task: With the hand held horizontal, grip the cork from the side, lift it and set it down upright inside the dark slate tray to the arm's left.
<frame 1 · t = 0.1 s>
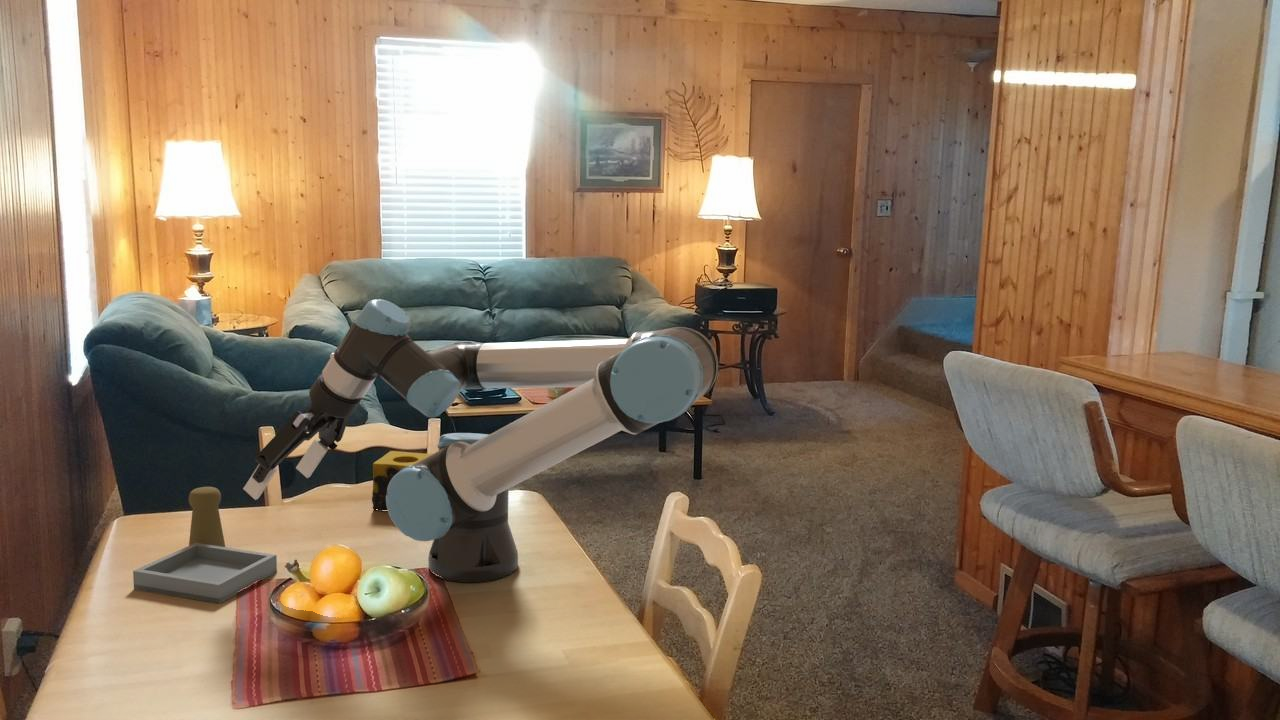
hand: (277, 482, 166), 15 cm above the table, tool tilted 35°, fingers open, 13 cm apart
tray: (207, 580, 164), on the table
cork: (207, 549, 178), on the table
candle: (404, 506, 206), on the table
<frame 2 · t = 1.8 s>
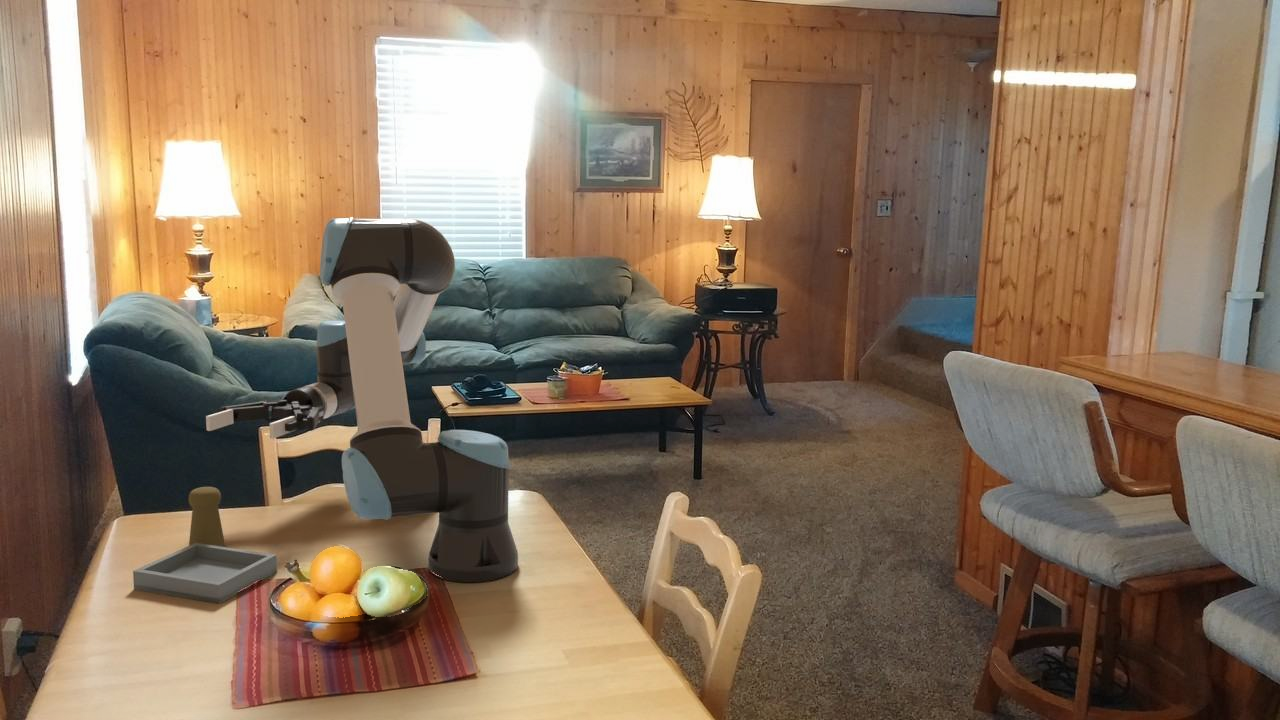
hand: (239, 427, 184), 20 cm above the table, tool horizontal, fingers open, 13 cm apart
nothing on the table moved.
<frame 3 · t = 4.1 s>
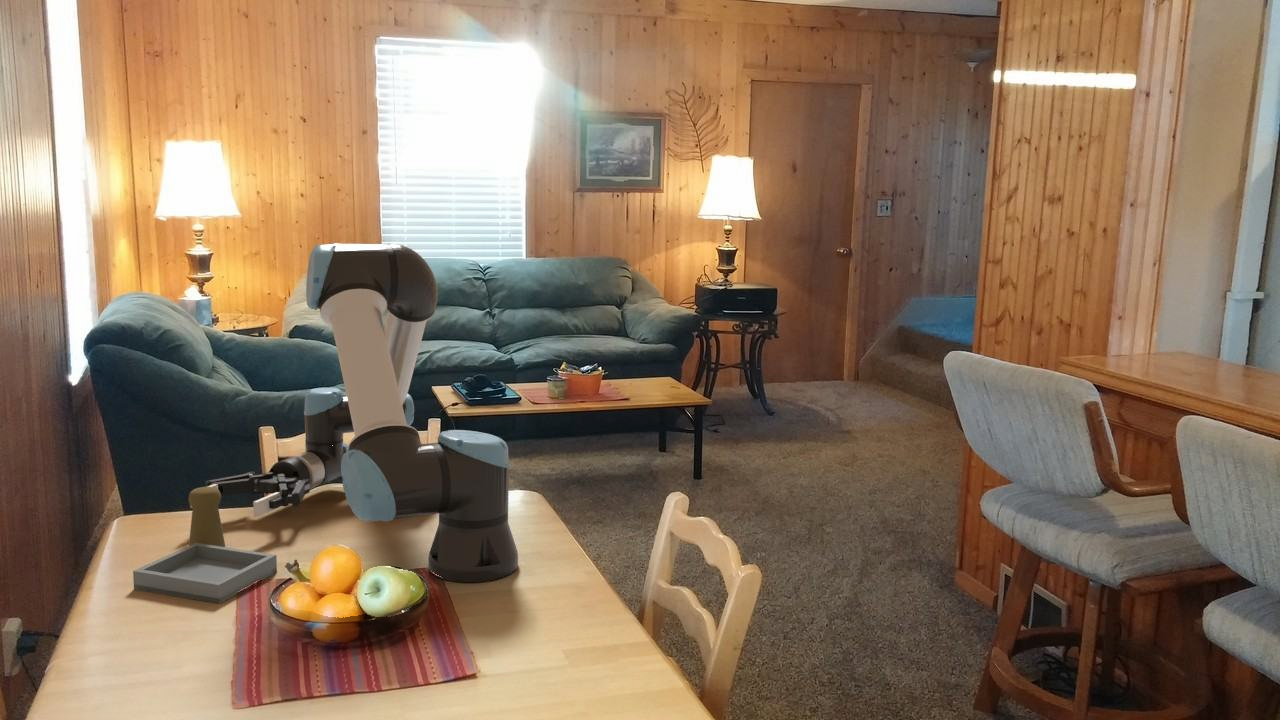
hand: (223, 505, 182), 6 cm above the table, tool horizontal, fingers open, 13 cm apart
nothing on the table moved.
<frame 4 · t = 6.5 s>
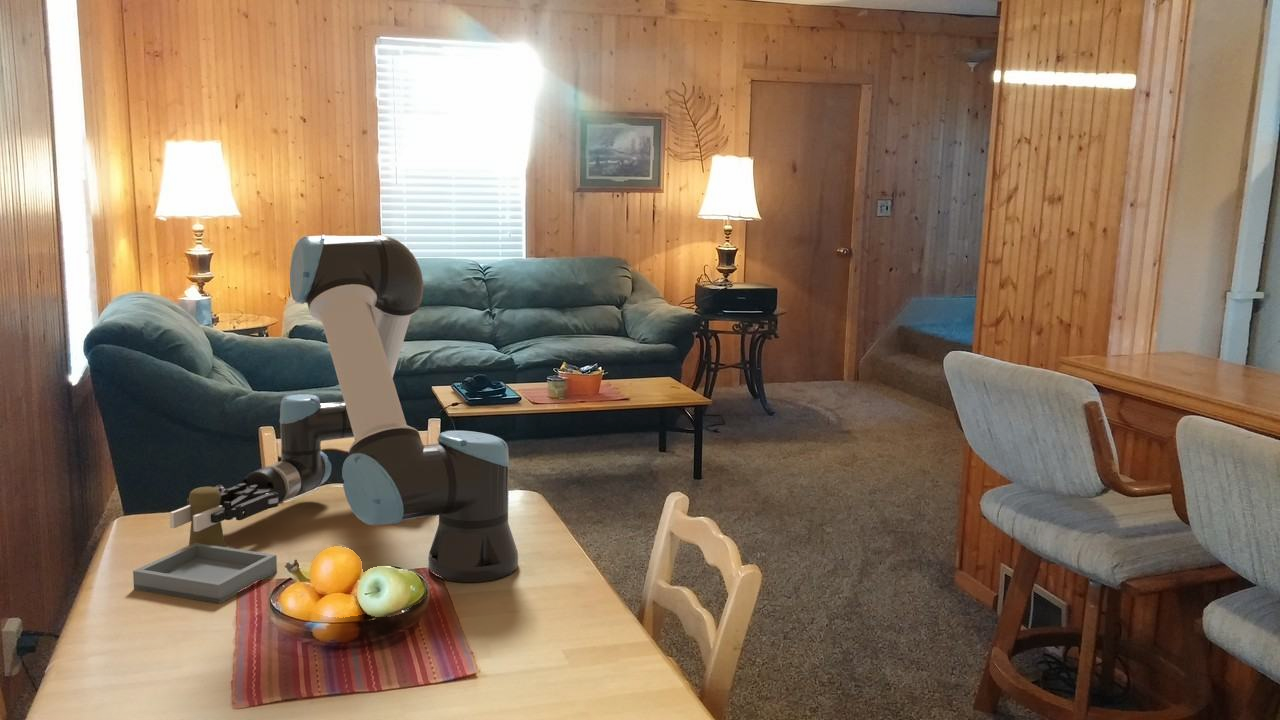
hand: (183, 522, 172), 7 cm above the table, tool horizontal, fingers closed on cork, 4 cm apart
cork: (207, 549, 178), on the table, touching gripper
everything else where it was.
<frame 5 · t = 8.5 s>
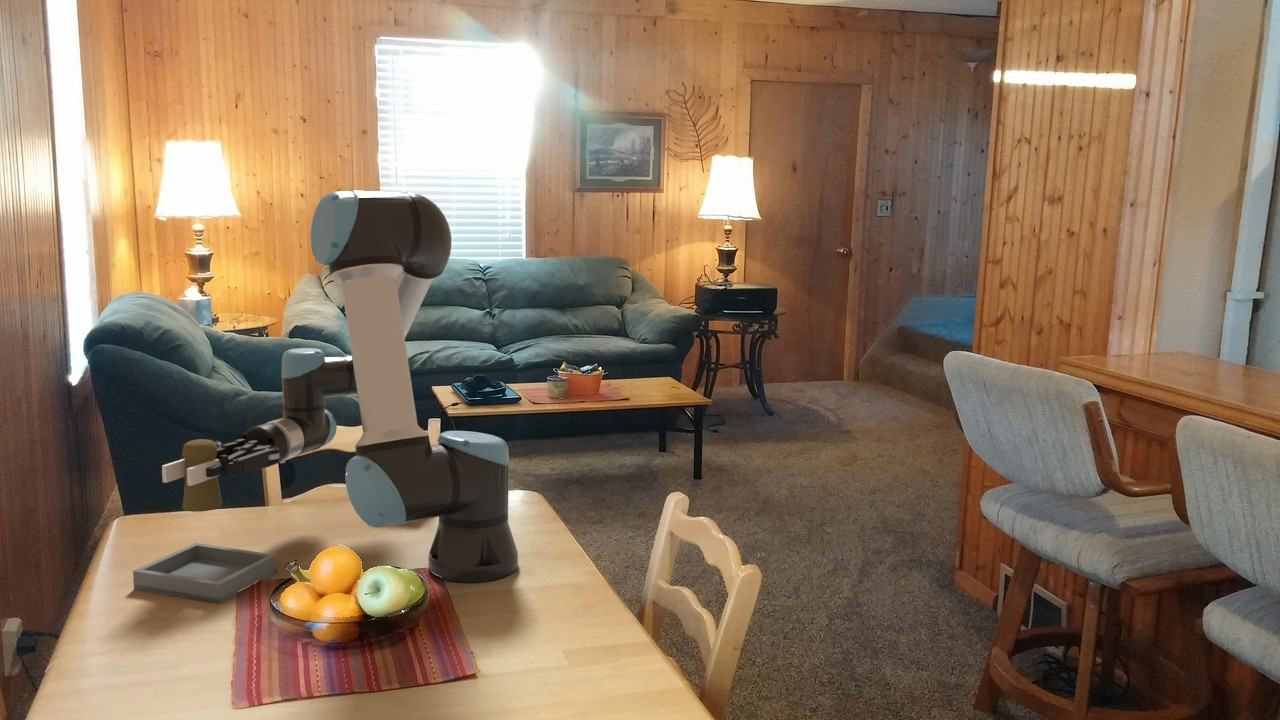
hand: (176, 475, 159), 18 cm above the table, tool horizontal, fingers closed on cork, 4 cm apart
cork: (202, 507, 165), point 11 cm above the table, touching gripper
everything else where it was.
when the fingers open (8 cm above the table, at t = 10.9 s): cork moves 1 cm, resting on tray.
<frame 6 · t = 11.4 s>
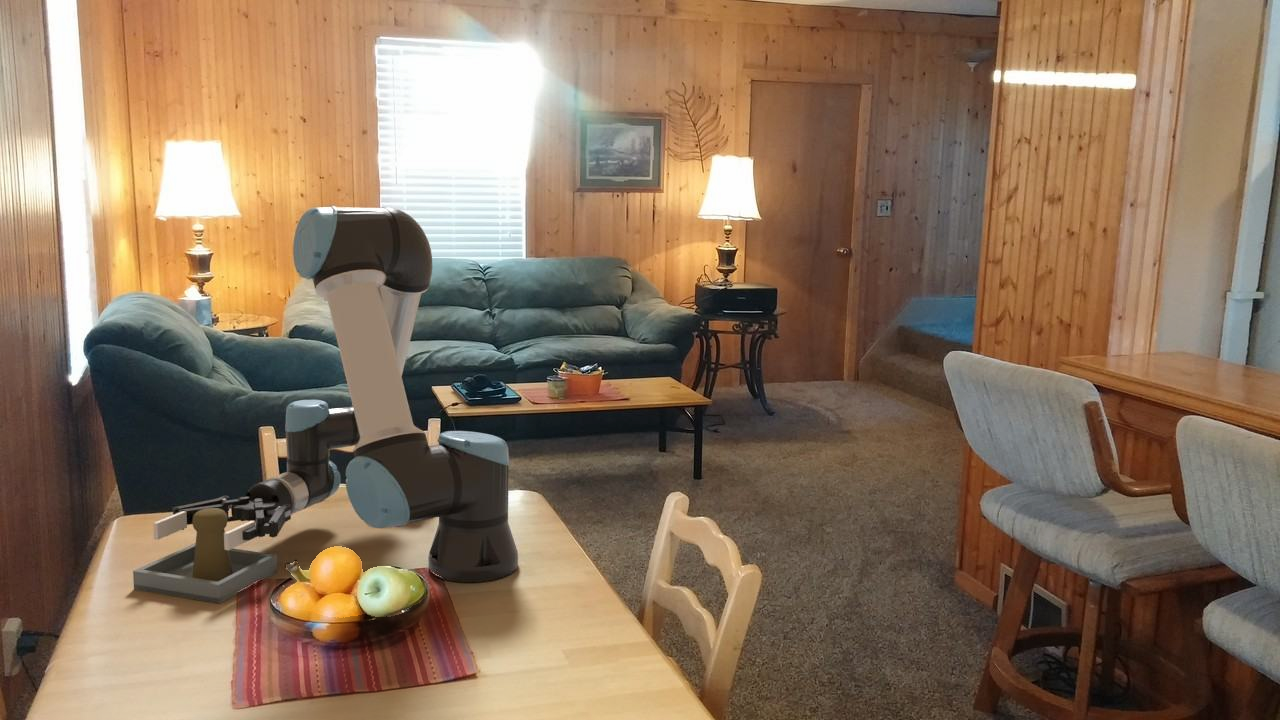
hand: (190, 536, 159), 8 cm above the table, tool horizontal, fingers open, 13 cm apart
cork: (212, 576, 163), point 1 cm above the table, touching tray
everything else where it was.
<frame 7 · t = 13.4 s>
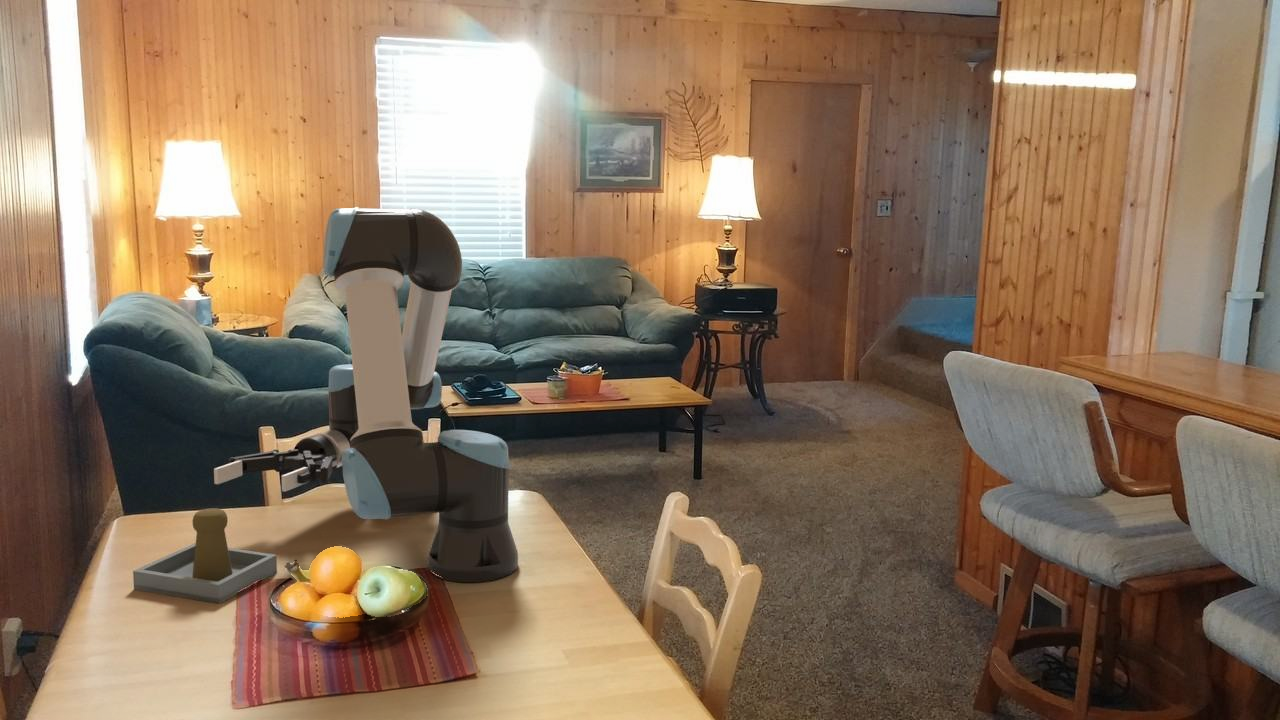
hand: (249, 480, 174), 13 cm above the table, tool horizontal, fingers open, 13 cm apart
nothing on the table moved.
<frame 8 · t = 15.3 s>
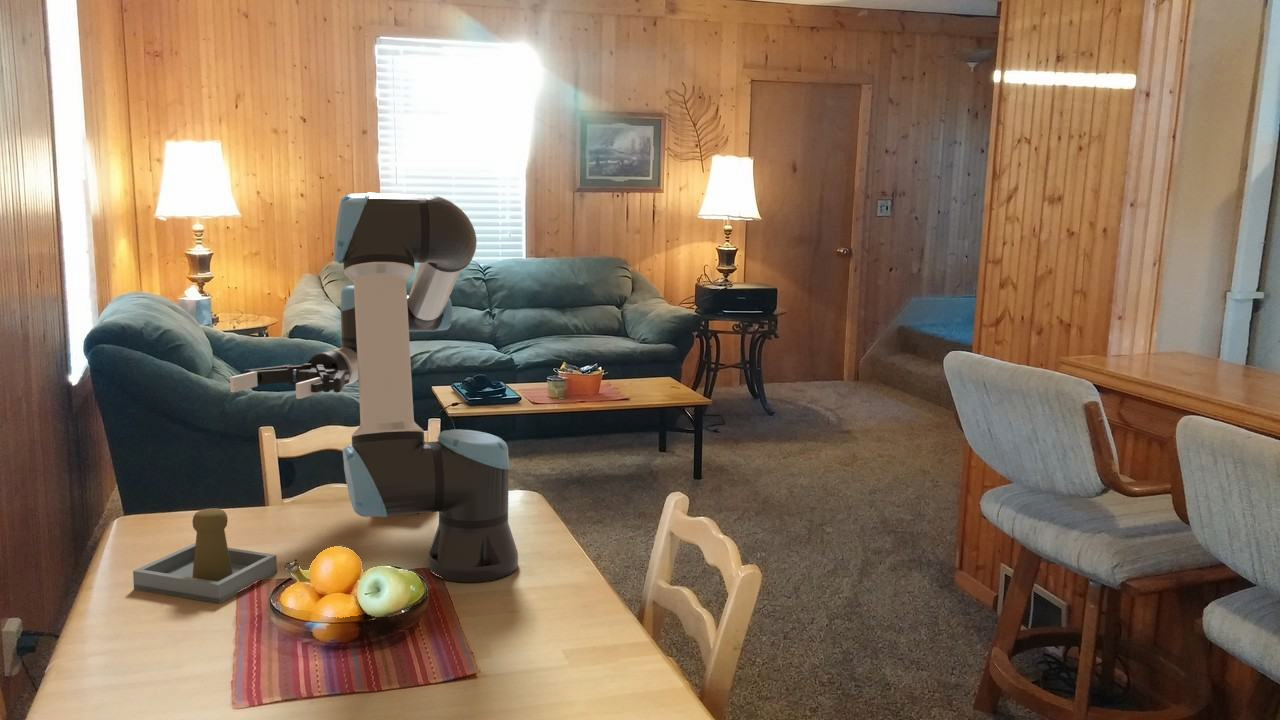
hand: (264, 388, 179), 28 cm above the table, tool horizontal, fingers open, 13 cm apart
nothing on the table moved.
at the end: cork inside the target area on the tray (0.8 cm from its centre), point 0.6 cm above the tray's base; cork tilted 0°; the gripper is holding nothing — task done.
